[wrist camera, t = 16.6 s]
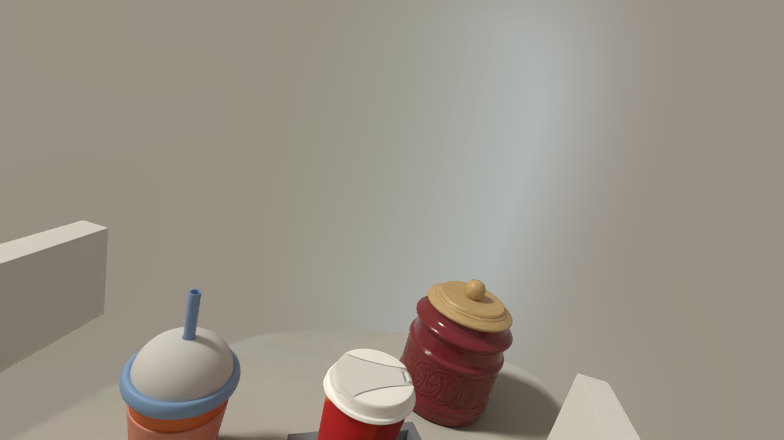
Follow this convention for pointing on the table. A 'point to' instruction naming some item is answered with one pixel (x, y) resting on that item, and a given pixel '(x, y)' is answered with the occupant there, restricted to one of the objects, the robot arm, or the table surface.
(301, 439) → the tray
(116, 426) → the table surface
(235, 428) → the table surface
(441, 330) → the canister
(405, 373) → the paper cup
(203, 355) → the cup with straw
